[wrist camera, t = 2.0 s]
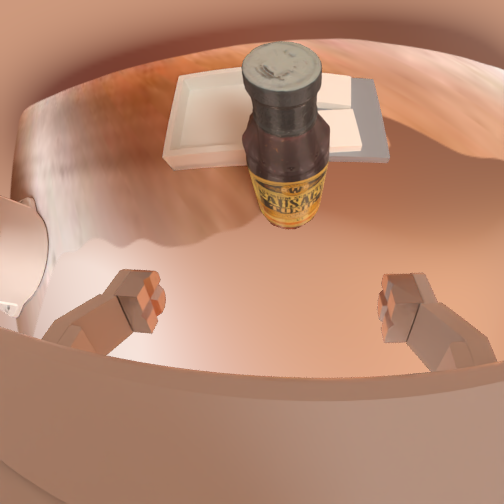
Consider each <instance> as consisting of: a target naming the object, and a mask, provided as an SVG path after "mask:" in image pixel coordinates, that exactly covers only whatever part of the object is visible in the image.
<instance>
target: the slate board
mask: <svg viewBox="0 0 504 504" xmlns="http://www.w3.org/2000/svg"><path fill="white" fill-rule="evenodd" d="M351 109H353V111H354V115H355V119H356V123H357V126H358V130H359V134H360V138H361V142H362V148H361V151H351V152H334V153H329V161H344V162H376V163H388V161H389V159H390V155H389V150H388V144H387V138H386V133H385V129H384V123H383V119H382V114H381V109H380V105H379V101H378V97H377V92H376V88H375V84H374V81H373V79H363V78H351ZM320 110H332V109H323V108H318V111H320Z"/></svg>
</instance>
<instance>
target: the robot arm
mask: <svg viewBox="0 0 504 504" xmlns="http://www.w3.org/2000/svg"><path fill="white" fill-rule="evenodd" d="M47 252H48V238H47V231H46V227H45V224H44V222H43V220H42V218H41V217H40V216H39V215H38V213H37V211H36V207H35V202H34V200H33V199H32V198H30V197H26V198H24V199H22V200H20V201H18V202H16V201H14V200H11V199H9V198H6V197H3V196H1V195H0V310H2V311H3V312H4V313H6V314H7V315H9V316H10V317H13V318H17V317H18V316H19V314H20V312H21V310H22V307H23V305H24V304H25V302H26V301H27V300H28V299H29V298H30V297H31V296H32V295H33V294H34V292H35V291H36V289H37V288H38V286H39V284H40V281H41V279H42V276H43V273H44V270H45V266H46V260H47ZM159 282H160V277H159V274H158V272H156V271H147V270H129V269H123V270H120V271H119V273H118V274H117V275H116V277H115V278H114V279H113V281H112V282H111V283H110V285H109V286H108V287H107V289H106V290H105V292H104V293H103V294H102V295H101V294H99V295H97V296H96V297H94V298H92V299H90V300H89V301H87V302H85V303H84V304H82V305H80V306H78V307H77V308H75V309H73V310H72V311H70V312H68V313H67V314H65V315H63V316H62V317H60V318H58V319H57V320H55V321H54V322H53V324H52V325H51V326H50V328H49V329H48V331H47V332H46V333H45V335H44V336H43V338H42V339H38V338H34V337H31V336H28V335H24V334H21V333H18V332H15V331H12V330H9V329H5V328H2V327H0V504H504V361H500V362H497V359H496V357H495V355H494V352H493V350H492V347H491V345H490V343H489V340H488V338H487V337H486V336H485V335H484V334H482V333H481V332H480V331H478V330H477V329H476V328H475V327H473V326H472V325H471V324H469V323H468V322H467V321H465V320H464V319H463V318H462V317H460V316H459V315H458V314H456V313H455V312H454V311H452V310H451V309H450V308H448V307H447V306H446V305H444V304H443V303H438V301H437V299H436V297H435V295H434V292H433V290H432V288H431V286H430V283H429V282H428V279H427V277H426V275H425V274H424V273H410V274H384V275H383V278H382V288H383V290H382V291H381V292H380V293H379V298H378V316H379V320H381V321H382V322H383V323H382V327H381V331H382V336H383V341H384V343H398V342H399V343H400V342H407V343H406V344H407V345H408V346H409V347H410V348H411V349H412V351H413V352H414V353H415V354H416V355H417V356H418V357H419V358H420V360H421V361H422V362H423V363H424V364H425V365H426V367H427V368H428V369H429V370H430V371H431V372H427V373H416V374H405V375H392V376H376V377H353V378H352V377H351V378H300V377H272V376H254V375H240V374H228V373H217V372H208V371H199V370H190V369H182V368H175V367H168V366H161V365H155V364H149V363H142V362H137V361H131V360H126V359H120V358H116V357H111V356H106V355H107V354H109V353H110V352H111V351H112V350H113V349H114V348H116V347H117V346H118V345H119V344H120V343H121V342H123V341H124V340H125V339H126V338H127V337H129V336H130V335H131V334H132V333H133V332H141V333H153V330H154V329H155V326H156V324H157V322H158V319H157V316H158V315H160V314H161V313H162V312H163V310H164V308H165V303H166V297H165V292H164V289H163V288H162V287H161V286H160V285H159Z"/></svg>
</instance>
